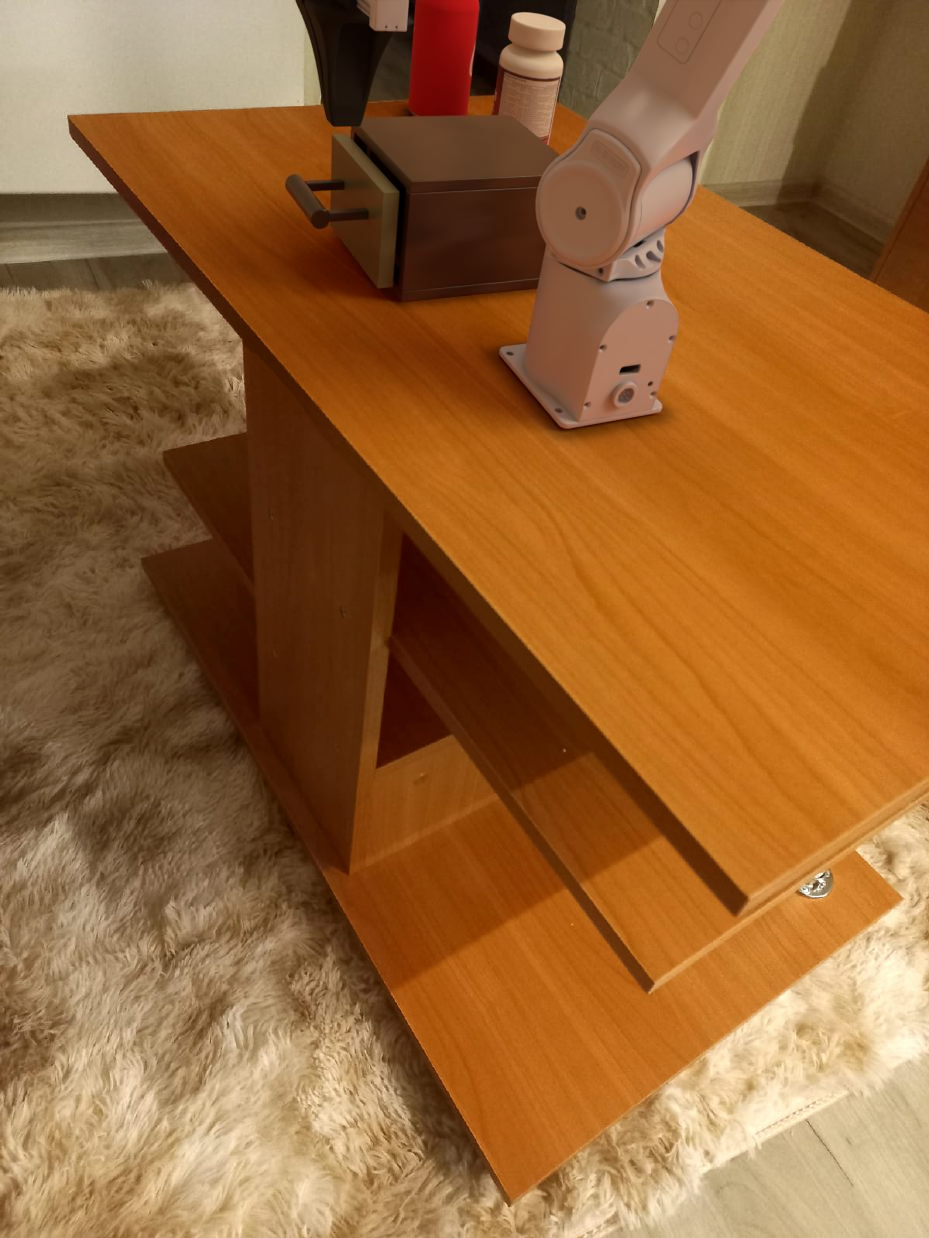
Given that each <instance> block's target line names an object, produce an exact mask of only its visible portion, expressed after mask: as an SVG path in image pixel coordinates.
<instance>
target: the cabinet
mask: <svg viewBox="0 0 929 1238" xmlns="http://www.w3.org/2000/svg"><path fill="white" fill-rule="evenodd" d="M350 138H351V139H352V140H353V141H354V142H355V143H356V144H357V145H358V147H359V148H360V149H361V150H362V151H363V152H364V153H365V154H366V148H367V146H368V147H369V149H370V150H371V151H372V152H373V153H374V154H375V155H376V156H377V157H378V158H379V159H380V160H381V162H382V163H383V164H384V165H385V166H386V167H387V168H388V169H389V170H390V171H391V172H392V173H393V175H394V176H395V177H396V178H397V179H398V180H399V181H400V182H401V183H402V184H403V185H404V187H405V188H406V197H405V210H404V223H403V235H402V248H401V261H400V269H399V268H398V266H397V265H396V264H395V263H394V275H393V287H389V289H391V290H392V291H393V293H394V294H395V296H396V297H397V298H398V299H399V301H400V302H401V303H403V302H413V301H423V300H432V299H442V298H451V297H461V296H462V297H463V296H470V295H471V296H472V295H480V294H481V295H482V294H491V293H500V292H501V293H502V292H511V291H519V290H528V289H529V290H530V289H531V290H532V289H537V288H538V283H539V278H540V273H541V268H542V263H543V258H544V253H545V248H546V242H545V241H544V239H543V237H542V235H541V232H540V230H539V226H538V222H537V218H536V210H535V207H536V194H537V189H538V185H539V182H540V180H541V178H542V175H543V173H544V172H545V170H546V169H547V167H548V166H549V165H550V164H551V163H552V162H553V161H554V160H555V159H556V158H557V157H559V156H560V155H561V154H559V152H557V151H556V150H555V149H554V148H552V147H551V146H550V145H547V144H546V143H545V142H544V141H542V140H541V139H540V138H539V137H537V136H536V135H535V134H534V133H532V132H531V131H530V130H529V129H528V128H526V127H525V126H524V125H523V124H521V123H520V122H519V121H518V120H516V119H515V118H514V117H513V116H512V115H492V114H488V115H487V114H483V115H482V114H481V115H479V114H477V115H467V116H369V117H368V116H367V117H366V116H365V117H363V120H362V123H361V126H350Z"/></svg>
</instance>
